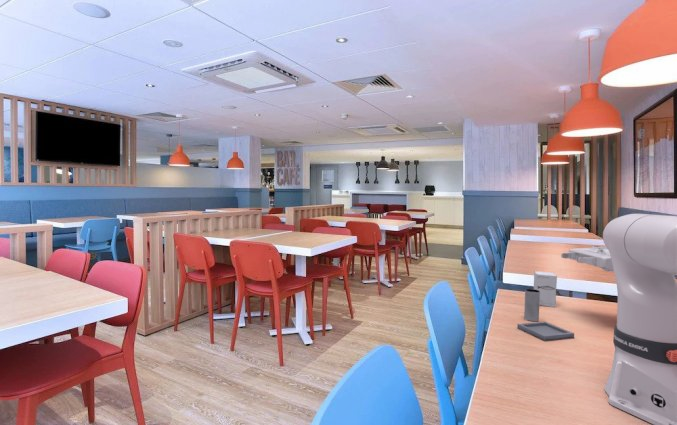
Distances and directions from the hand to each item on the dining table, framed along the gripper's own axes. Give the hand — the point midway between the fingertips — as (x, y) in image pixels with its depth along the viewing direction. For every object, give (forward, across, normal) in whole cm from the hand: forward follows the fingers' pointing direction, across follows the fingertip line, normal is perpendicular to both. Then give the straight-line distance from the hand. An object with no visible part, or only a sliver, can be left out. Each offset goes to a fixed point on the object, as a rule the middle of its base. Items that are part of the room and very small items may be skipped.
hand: (569, 257), depth 127 cm
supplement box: (-2, +20, -22) cm, 30 cm away
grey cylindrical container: (+12, 0, -22) cm, 25 cm away
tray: (+14, -13, -22) cm, 29 cm away
